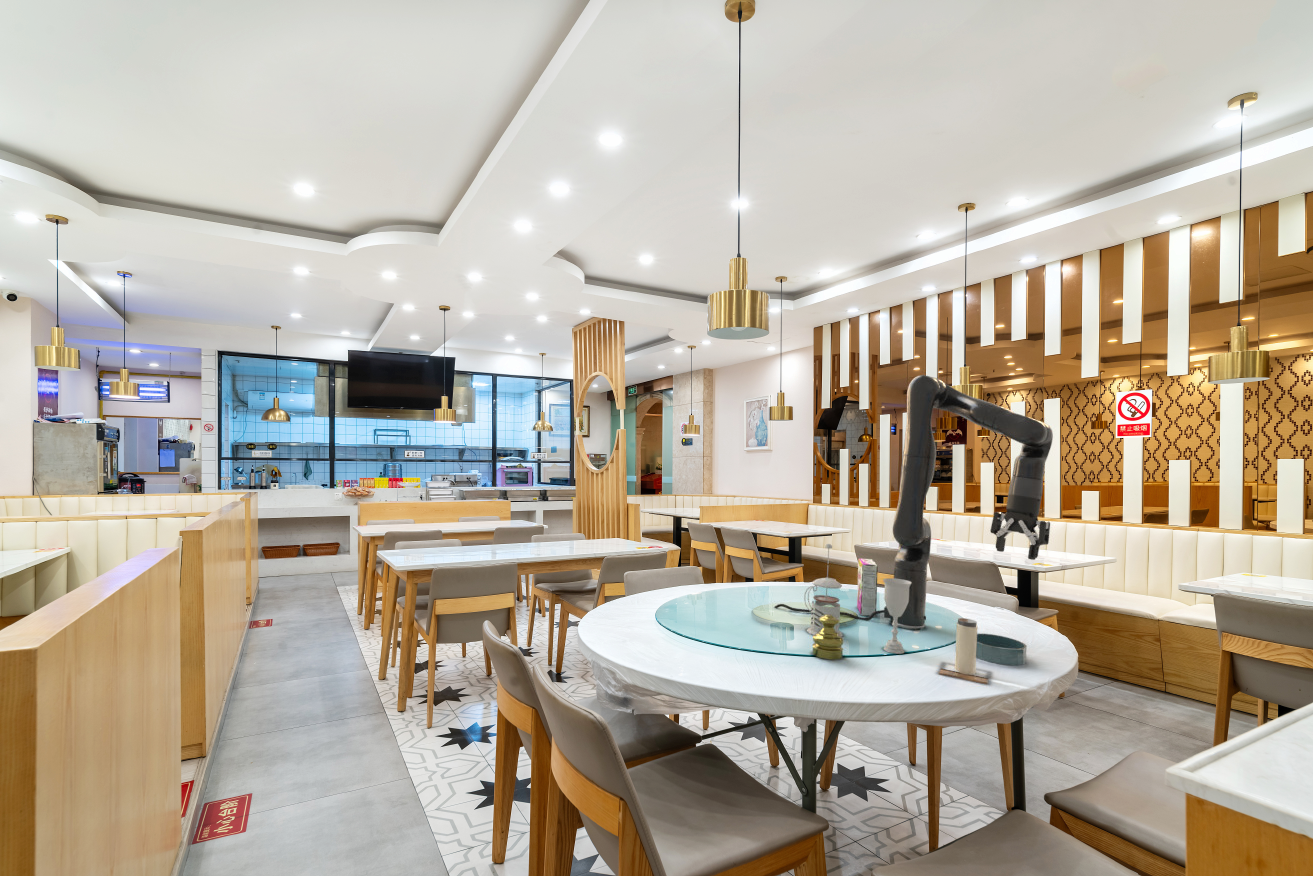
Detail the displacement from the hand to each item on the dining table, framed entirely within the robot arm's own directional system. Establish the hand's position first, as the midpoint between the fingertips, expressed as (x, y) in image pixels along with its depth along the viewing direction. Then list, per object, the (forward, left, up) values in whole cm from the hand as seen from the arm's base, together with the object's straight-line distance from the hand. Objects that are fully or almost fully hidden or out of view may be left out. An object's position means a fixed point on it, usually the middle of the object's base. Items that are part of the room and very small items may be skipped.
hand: (1015, 555), depth 163 cm
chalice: (-26, -18, -26) cm, 41 cm away
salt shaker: (-39, -34, -26) cm, 58 cm away
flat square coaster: (-9, -25, -26) cm, 38 cm away
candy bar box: (-41, +19, -26) cm, 52 cm away
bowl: (-3, -7, -26) cm, 27 cm away
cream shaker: (-9, -25, -26) cm, 37 cm away
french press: (-46, -14, -26) cm, 55 cm away
